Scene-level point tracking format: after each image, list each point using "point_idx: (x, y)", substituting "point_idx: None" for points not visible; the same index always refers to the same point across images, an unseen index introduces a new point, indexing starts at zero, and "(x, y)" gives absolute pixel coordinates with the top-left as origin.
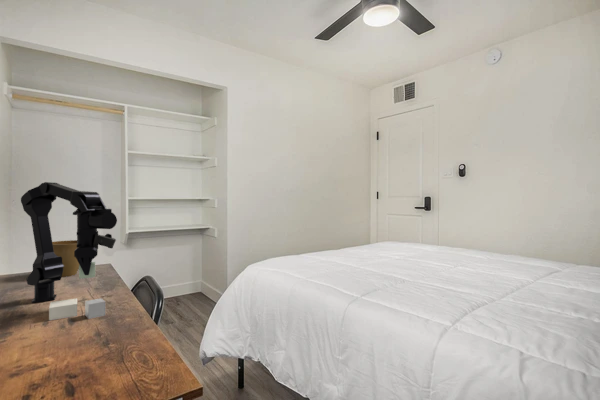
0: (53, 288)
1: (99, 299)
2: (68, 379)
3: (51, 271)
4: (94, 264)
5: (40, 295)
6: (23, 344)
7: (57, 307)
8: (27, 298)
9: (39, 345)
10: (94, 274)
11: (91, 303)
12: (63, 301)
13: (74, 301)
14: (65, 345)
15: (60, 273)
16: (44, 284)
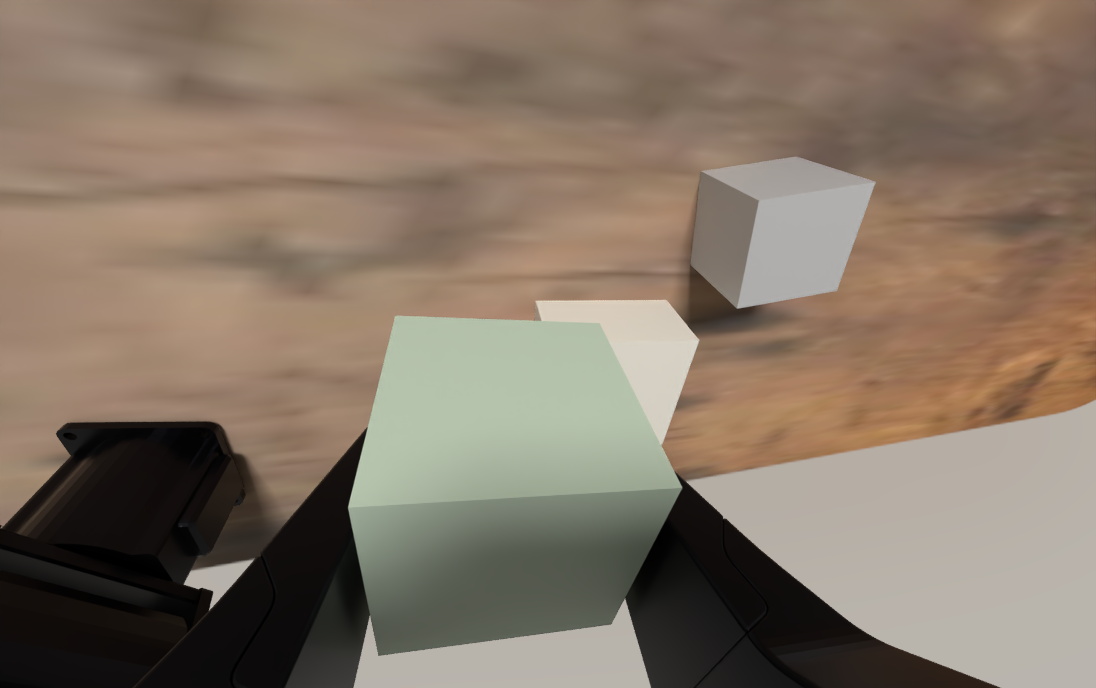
0: (116, 491)
1: (782, 217)
2: None
3: (101, 673)
4: (678, 486)
5: (227, 506)
6: (832, 428)
7: (668, 415)
8: None
9: (889, 393)
10: (612, 352)
11: (829, 274)
12: None
13: (627, 355)
14: (979, 330)
15: (4, 598)
16: (165, 566)
